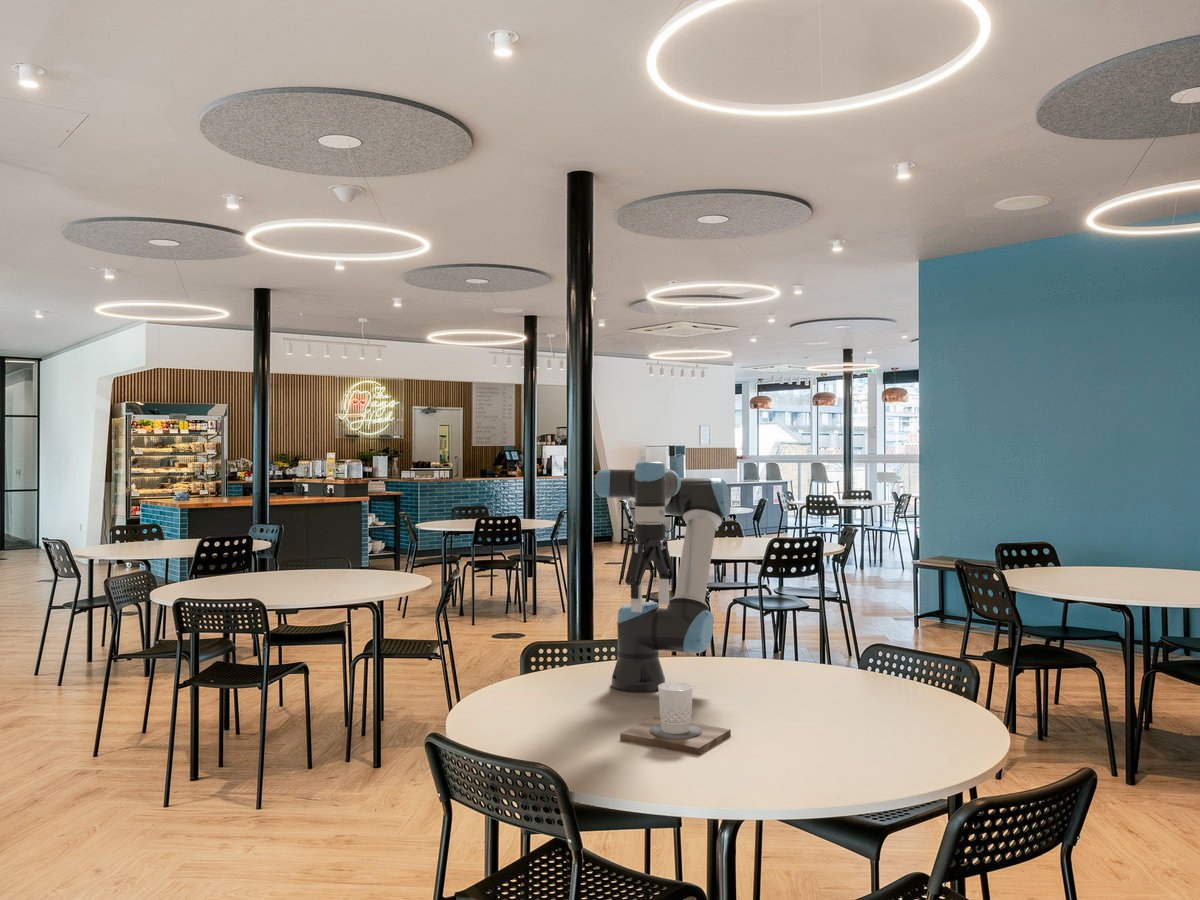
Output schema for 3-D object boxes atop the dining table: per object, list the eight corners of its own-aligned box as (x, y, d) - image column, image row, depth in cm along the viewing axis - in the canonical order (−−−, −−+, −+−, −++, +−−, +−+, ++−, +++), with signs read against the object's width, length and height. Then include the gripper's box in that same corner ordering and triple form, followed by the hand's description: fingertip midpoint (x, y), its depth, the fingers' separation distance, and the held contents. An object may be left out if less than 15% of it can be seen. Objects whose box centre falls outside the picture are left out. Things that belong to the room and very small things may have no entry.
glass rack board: (655, 722, 217) (655, 715, 217) (730, 736, 206) (730, 728, 206) (620, 739, 204) (620, 731, 204) (699, 755, 193) (698, 746, 193)
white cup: (667, 723, 210) (667, 680, 210) (698, 728, 206) (698, 684, 206) (652, 731, 203) (652, 687, 204) (683, 737, 199) (683, 692, 200)
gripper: (637, 526, 212) (637, 616, 211) (686, 520, 232) (687, 602, 232) (610, 525, 216) (611, 613, 215) (661, 520, 237) (661, 600, 236)
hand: (650, 608), depth 224 cm, fingers open, 13 cm apart
